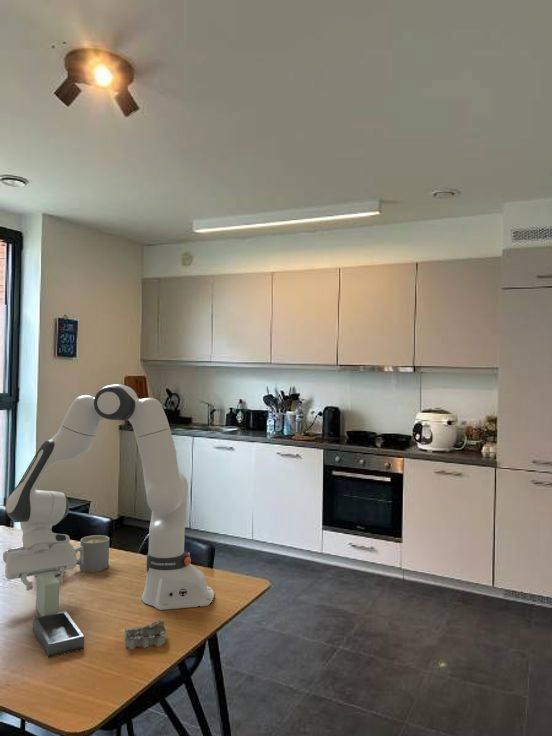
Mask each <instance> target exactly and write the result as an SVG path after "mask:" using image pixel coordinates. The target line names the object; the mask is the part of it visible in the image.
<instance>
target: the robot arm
mask: <svg viewBox="0 0 552 736" xmlns="http://www.w3.org/2000/svg"><path fill="white" fill-rule="evenodd" d="M105 419H106V420H109V421H129V422H130V424H131V426H132V429H133V432H134V437H135V441H136V445H137V448H138V451H139V457H140V460H141V465H142V474H143V475H142V476H143V481H144V489H145V494H146V503H147V506H148V508H149V509H150V510H151V516H150V517H151V518H150V523H149V529H148V530H149V531H148V532H149V533H148V552H147V553H146V561H145V562H146V564H145V569H146V579H145V584H144V589H143V593H142V596H141V601H142V602H143V603H144V604H146V605H148V606H152V607H155V609H158V610H160V611H163V610H172V609H173V610H175V609H176V610H177V609H185V608H186V609H187V608H197V607H198V606H200V607H206V606H209V605H210V603H211V602H212V603H213V601H214V599H213V598H215V594H214V590H213V588H212V587H210V586H208V583H207V582H208V581H207V579H206V577H205V574H204V573H203V572H202V571H201V570H199V568H197V567H196V566H194V565H192V564H191V562H192V559H191V555H190V552H189V551H188V552H187V551H185V530H186V518H187V511H188V510H187V506H188V494H189V484H188V481H187V478H186V476H185V475H184V474H183V473H181V472H179V471H180V470H179V465H178V459H177V450H176V446H175V442H174V438H173V435H172V430H171V428H170V424H169V421H168V418H167V415H166V413H165V410H164V408H163V406H162V403H161V401H159V400H158V399H156V398H153V397H145V398H140V395H139V394H138V392H137V390H136V389H134V387H132V386H130V385H127V384H120V383H115V384H109V385H105V386H103V387H102V388H100V389H99V390H98V391H97V392H96V394H95V396H92V395H87V394H85V395H79V396H77V397H75V399H74V400H73V401H72V403H71V404H70V406H69V408H68V410H67V412H66V413H65V416H64V418H63V420H62V422H61V425H60V427H59V429H58V431H57V432H55V434H54V435H53V436H52V437H51V438H50V439H47V440H45V441H44V442H43V443H42V444H41V445H40V447H39V448H38V450H37V451H36V453H35V455H34V456H33V458H32V460H31V462H30V463H29V464H28V467H27V468H26V470H25V472H24V473H23V474H22V477H21V479H20V480H19V481H18V484H16V487H14V489H13V490H12V491H11V493H10V494H9V495H8V497H7V500H6V503H5V509H4V510H5V513H6V514H7V516H8V517H9V519H11V521H12V522H14V523H20V524H19V525H20V529H21V531H22V537H21V538H22V539H21V540H22V541H21V542H22V546H20V547H19V546H18V547H15V548H7V550H5V551H4V552H3V554H2V560H3V562H4V563H5V566H4V567H5V571H4V572H5V575H4V576H5V578H6V579H7V580H8V581H10V580H15V579H20V582H22V584H23V585H24V586H25V589H26V590H25V591H31V590H33V581H29V580H28V579H27V577H35V575H37V574H40V573H46V572H59V574H58V575H59V576H57V577H56V578H57V580H58V581H59V582H60V585H62V584H63V582H64V579H63V576H64V574H65V571H68V570H69V571H70V570H73V569H75V567H76V565H78V564H77V560H78V558H77V553H75V550H74V548H75V547H74V546H73V544H72V543H70V536H69V535H68V534H63V533H62V534H61V533H56V532H53V530H52V528H53V526H56V525H58V524H59V523H60V522H61V521H63V520H64V519H65V518H66V516H67V515H68V514H69V511H70V504H69V499H68V497H67V495H66V494H65V493H64V492H62V491H54V490H44V489H43V490H42V489H37V488H38V486H39V484H40V483H41V482H42V481H41V480H42V479H43V477H44V476H45V474H46V472H47V470H48V469H49V468H51V466H53V465H55V464H56V463H59V462H62V461H66V460H71V459H76V458H79V457H81V456H84V455H85V454H86V453H87V452H89V451H90V449H91V448H92V446H93V444H94V442H95V440H96V437H97V434H98V431H99V429H100V428H101V427H100V426H101V424H102V422H103V421H104V420H105ZM212 600H213V601H212ZM212 603H211V604H212Z"/></svg>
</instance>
